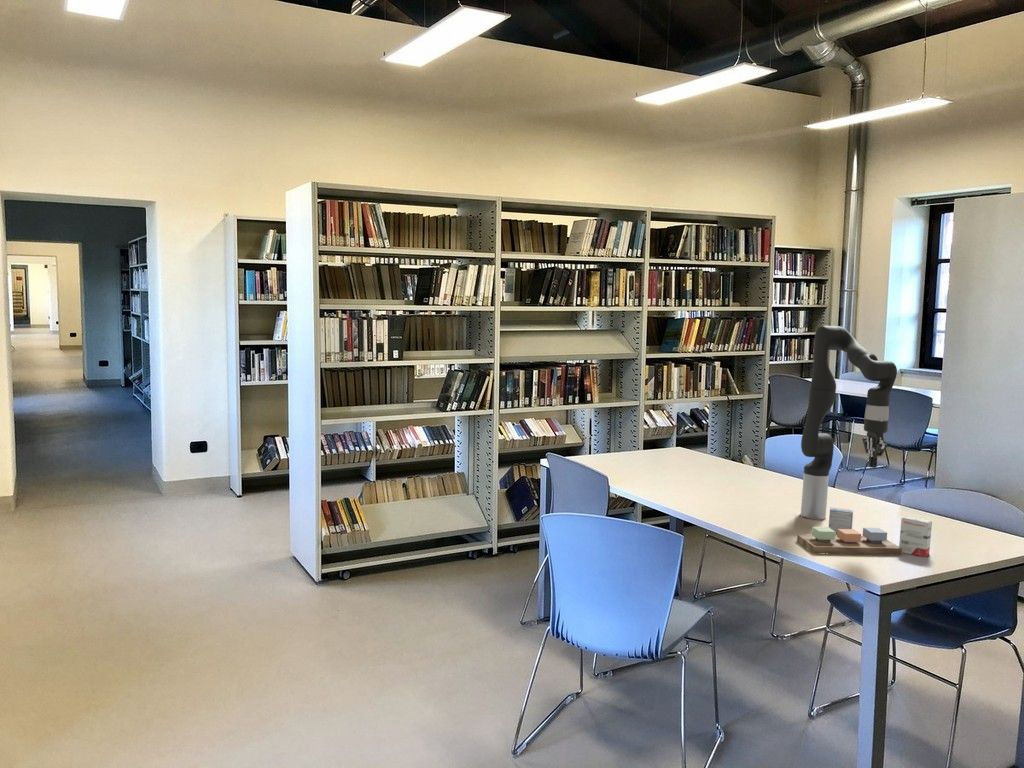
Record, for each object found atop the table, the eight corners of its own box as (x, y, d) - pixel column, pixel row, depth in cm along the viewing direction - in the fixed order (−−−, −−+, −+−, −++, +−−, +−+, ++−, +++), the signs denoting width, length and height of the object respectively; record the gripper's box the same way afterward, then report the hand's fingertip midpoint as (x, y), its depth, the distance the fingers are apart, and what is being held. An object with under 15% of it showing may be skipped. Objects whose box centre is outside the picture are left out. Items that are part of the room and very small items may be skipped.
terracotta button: (836, 536, 273) (837, 528, 273) (852, 537, 274) (853, 529, 273) (844, 541, 268) (845, 533, 268) (860, 542, 268) (861, 533, 268)
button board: (796, 541, 277) (797, 529, 277) (880, 542, 279) (881, 531, 278) (813, 553, 263) (814, 541, 263) (901, 555, 265) (902, 543, 264)
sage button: (811, 534, 273) (812, 526, 273) (827, 534, 273) (828, 526, 273) (818, 539, 267) (819, 531, 267) (834, 539, 268) (835, 531, 267)
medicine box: (851, 532, 291) (853, 509, 290) (851, 535, 287) (853, 512, 286) (828, 529, 294) (830, 506, 293) (828, 532, 290) (829, 509, 289)
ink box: (929, 554, 267) (932, 520, 266) (925, 557, 263) (928, 522, 262) (902, 548, 273) (905, 515, 272) (898, 551, 269) (901, 517, 268)
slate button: (862, 535, 274) (863, 527, 273) (878, 535, 274) (878, 527, 274) (870, 540, 268) (871, 532, 268) (886, 540, 268) (887, 532, 268)
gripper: (856, 415, 280) (853, 463, 282) (875, 420, 267) (871, 471, 269) (877, 415, 281) (873, 463, 282) (897, 421, 268) (892, 471, 269)
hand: (872, 467), depth 276 cm, fingers closed
